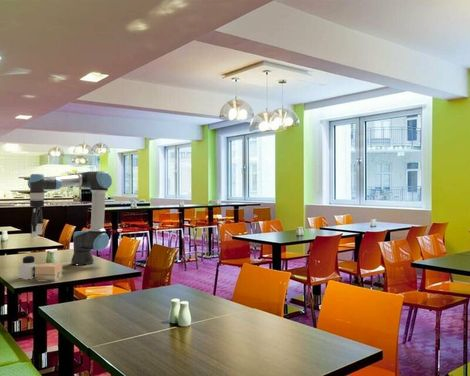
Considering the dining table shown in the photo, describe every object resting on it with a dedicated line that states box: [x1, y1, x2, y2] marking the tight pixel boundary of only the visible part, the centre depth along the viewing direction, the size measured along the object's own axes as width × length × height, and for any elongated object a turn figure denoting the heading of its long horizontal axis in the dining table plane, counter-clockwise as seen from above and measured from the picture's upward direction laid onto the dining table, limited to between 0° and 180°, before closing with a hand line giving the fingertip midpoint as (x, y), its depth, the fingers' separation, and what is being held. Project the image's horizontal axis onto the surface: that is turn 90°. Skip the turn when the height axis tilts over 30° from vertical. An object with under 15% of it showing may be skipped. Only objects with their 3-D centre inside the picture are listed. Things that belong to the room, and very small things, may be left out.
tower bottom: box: [35, 270, 63, 281], centre depth 260 cm, size 11×11×4 cm
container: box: [18, 255, 39, 279], centre depth 263 cm, size 8×8×13 cm
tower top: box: [36, 262, 63, 274], centre depth 260 cm, size 11×11×4 cm
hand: (37, 235), depth 262 cm, fingers open, 13 cm apart
